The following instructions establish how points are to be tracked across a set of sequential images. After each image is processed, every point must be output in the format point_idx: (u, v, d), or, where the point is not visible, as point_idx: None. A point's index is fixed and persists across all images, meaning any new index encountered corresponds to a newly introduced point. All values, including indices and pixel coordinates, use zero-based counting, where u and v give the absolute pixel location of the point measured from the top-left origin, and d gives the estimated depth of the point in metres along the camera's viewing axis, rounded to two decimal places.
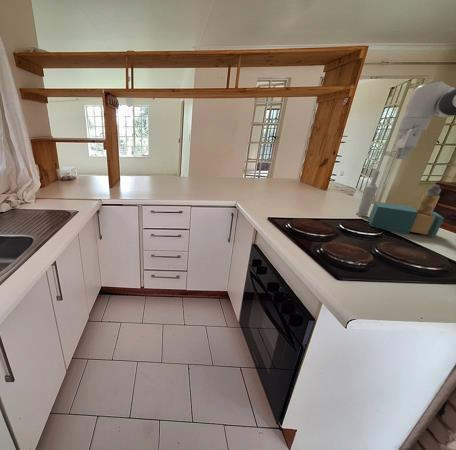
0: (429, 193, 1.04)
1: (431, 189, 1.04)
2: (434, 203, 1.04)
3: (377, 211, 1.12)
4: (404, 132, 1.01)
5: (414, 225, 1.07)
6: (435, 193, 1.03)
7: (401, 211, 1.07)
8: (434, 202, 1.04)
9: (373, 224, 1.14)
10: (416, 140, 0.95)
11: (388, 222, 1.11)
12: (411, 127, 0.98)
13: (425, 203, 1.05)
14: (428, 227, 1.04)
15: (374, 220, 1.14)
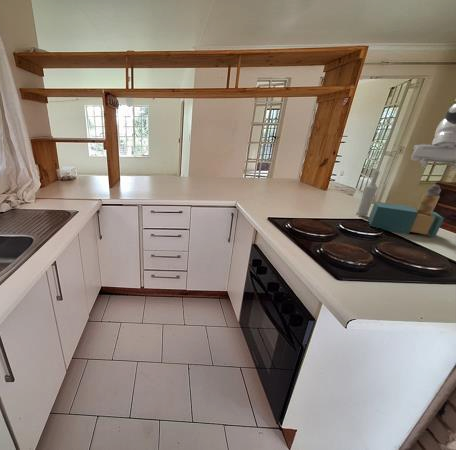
0: (429, 193, 1.04)
1: (431, 189, 1.04)
2: (434, 203, 1.04)
3: (377, 211, 1.12)
4: None
5: (414, 225, 1.07)
6: (435, 193, 1.03)
7: (401, 211, 1.07)
8: (434, 202, 1.04)
9: (373, 224, 1.14)
10: None
11: (388, 222, 1.11)
12: None
13: (425, 203, 1.05)
14: (428, 227, 1.04)
15: (374, 220, 1.14)
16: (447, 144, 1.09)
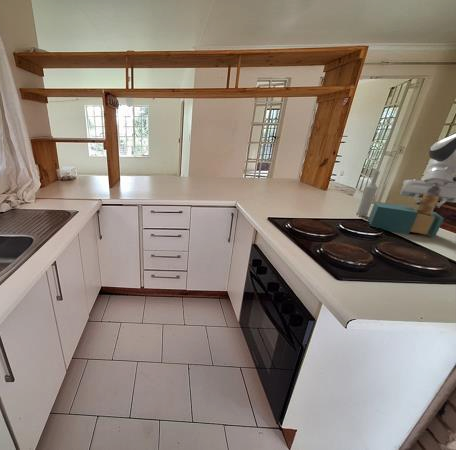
0: (429, 193, 1.04)
1: (431, 189, 1.04)
2: (434, 203, 1.04)
3: (377, 211, 1.12)
4: None
5: (414, 225, 1.07)
6: (435, 193, 1.03)
7: (401, 211, 1.07)
8: (434, 202, 1.04)
9: (373, 224, 1.14)
10: None
11: (388, 222, 1.11)
12: None
13: (425, 203, 1.05)
14: (428, 227, 1.04)
15: (374, 220, 1.14)
16: (436, 181, 1.07)
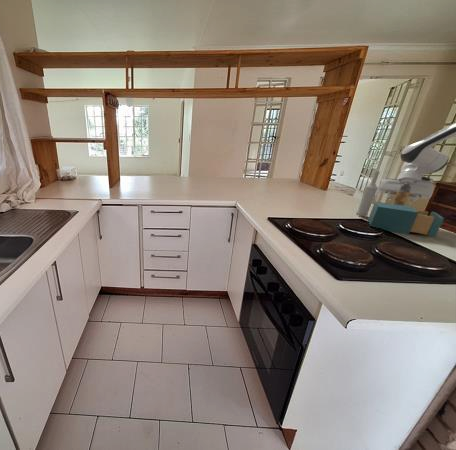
0: (401, 190, 1.21)
1: (403, 186, 1.21)
2: (405, 199, 1.21)
3: (377, 211, 1.12)
4: None
5: (414, 225, 1.07)
6: (406, 190, 1.20)
7: (401, 211, 1.07)
8: (405, 198, 1.21)
9: (373, 224, 1.14)
10: (380, 185, 1.31)
11: (388, 222, 1.11)
12: None
13: (398, 199, 1.22)
14: (428, 227, 1.04)
15: (374, 220, 1.14)
16: (408, 180, 1.23)
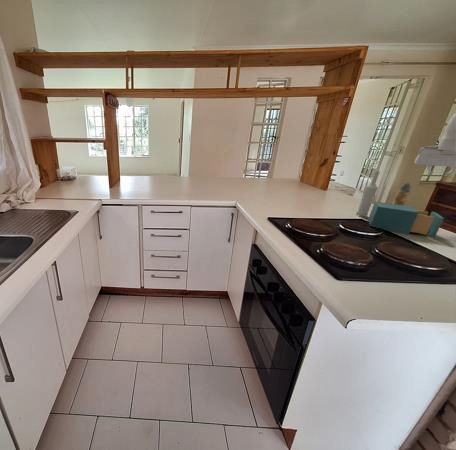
0: (401, 190, 1.21)
1: (403, 186, 1.21)
2: (405, 199, 1.21)
3: (377, 211, 1.12)
4: None
5: (414, 225, 1.07)
6: (406, 190, 1.20)
7: (401, 211, 1.07)
8: (405, 198, 1.21)
9: (373, 224, 1.14)
10: (417, 158, 1.21)
11: (388, 222, 1.11)
12: None
13: (398, 199, 1.22)
14: (428, 227, 1.04)
15: (374, 220, 1.14)
16: (450, 151, 1.12)
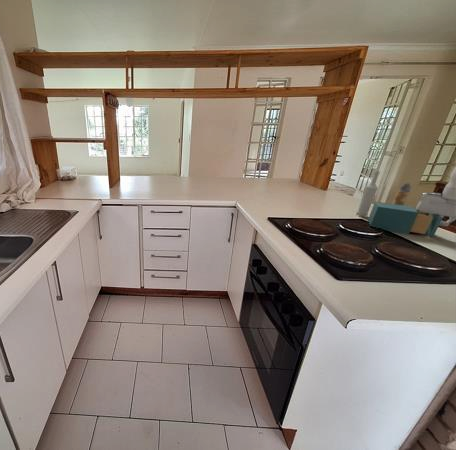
0: (401, 190, 1.21)
1: (403, 186, 1.21)
2: (405, 199, 1.21)
3: (377, 211, 1.12)
4: None
5: None
6: (406, 190, 1.20)
7: (401, 211, 1.07)
8: (405, 198, 1.21)
9: (373, 224, 1.14)
10: (419, 204, 1.07)
11: (388, 222, 1.11)
12: None
13: (398, 199, 1.22)
14: (426, 227, 1.05)
15: (374, 220, 1.14)
16: None
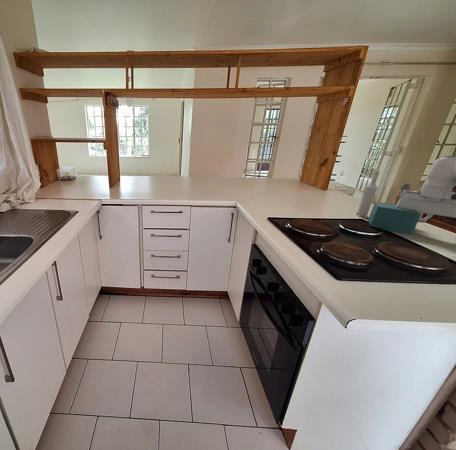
0: (401, 190, 1.21)
1: (403, 186, 1.21)
2: None
3: (377, 211, 1.12)
4: None
5: None
6: None
7: (401, 211, 1.07)
8: None
9: (373, 224, 1.14)
10: (398, 202, 1.11)
11: (388, 222, 1.11)
12: None
13: (398, 199, 1.22)
14: None
15: (374, 220, 1.14)
16: (433, 199, 1.03)
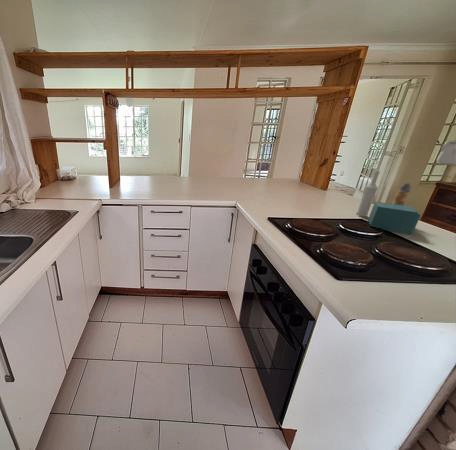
0: (401, 190, 1.21)
1: (403, 186, 1.21)
2: (405, 199, 1.21)
3: (377, 211, 1.12)
4: None
5: None
6: (406, 190, 1.20)
7: (401, 211, 1.07)
8: (405, 198, 1.21)
9: (373, 224, 1.14)
10: (440, 155, 1.00)
11: (388, 222, 1.11)
12: None
13: (398, 199, 1.22)
14: None
15: (374, 220, 1.14)
16: None
